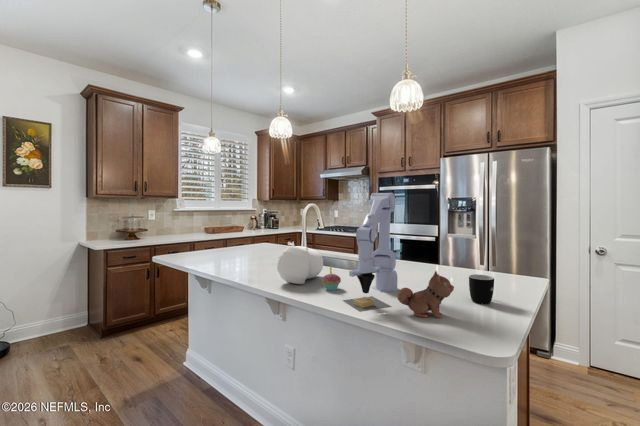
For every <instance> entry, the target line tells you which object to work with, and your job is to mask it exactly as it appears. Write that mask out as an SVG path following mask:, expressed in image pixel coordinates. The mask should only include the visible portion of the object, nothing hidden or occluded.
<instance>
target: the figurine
mask: <svg viewBox="0 0 640 426" xmlns="http://www.w3.org/2000/svg"><path fill="white" fill-rule="evenodd" d="M454 289H455V286H454V285H452V284H451V282H450V280H449V279H448V278H447V277H445V276H442V275H440V274H439V273H438V272H437V270H435V271H434V274H433V275H432V276H431V277H430V279H429V281H428V285H427V286H426V288H425V289H422V290H420V291H416V292H413V290H412V289H410V288H409V287H402V288H400V290H398V293H397V300H398V302H399V303H401V304H402V305H405V306H407V307H408V308H409V309H410V310H411V311H412V312H413V313H414V315H415V316H416V317H419V318H424V319H425V318H426V319H427V318H429V314H428V313H427V312H430V311H431V313H432V315H433V316H434V317H435V318H440V319H441V318H442V317H443V314H441V312H440V306H441V304H442V301H444V299H445V298H448V297H450V295H451V293H452V292H454Z"/></svg>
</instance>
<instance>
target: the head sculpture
mask: <svg viewBox="0 0 640 426" xmlns="http://www.w3.org/2000/svg"><path fill="white" fill-rule="evenodd" d="M287 245H288V246H287V247H286V248H285V249H284V250H283V251H282V253H281V255H280V256H279V257H278V260H277V264H276V270H277V272H278V274H279V276H280V278H281V280H283V281H285V282H288V283H291V284H295V285H303V284H305V283H306V280H308V279H313V278H316V277H317V276H319V275H320V273H321V272H322V271H323V268H324V259H323V256H322V255H321V253H320V252H319V251H317V250H316V249H313V248H311V247H310V248H309V247H308V246H303V245H302V246H301V245H297V246H296V245H295V244H294V243H293V242H291V241H288V242H287Z"/></svg>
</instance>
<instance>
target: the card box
mask: <svg viewBox="0 0 640 426" xmlns="http://www.w3.org/2000/svg"><path fill="white" fill-rule="evenodd" d="M368 297H369V296H361V297H356V298H357V299H356V298H353V299H354V305H356V306H359V307H361V308H364V307H368V306H372V305H374V300H373V299H370V298H368Z"/></svg>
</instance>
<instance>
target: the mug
mask: <svg viewBox="0 0 640 426" xmlns="http://www.w3.org/2000/svg"><path fill="white" fill-rule="evenodd" d="M468 288H469V295H470V299H471V301H472V302H473V303H475V304H477V305H490V304H491V302H492V299H493V295H494V290H495V278H494V276H491V275H487V274H476V273H475V274H469V275H468Z"/></svg>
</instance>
